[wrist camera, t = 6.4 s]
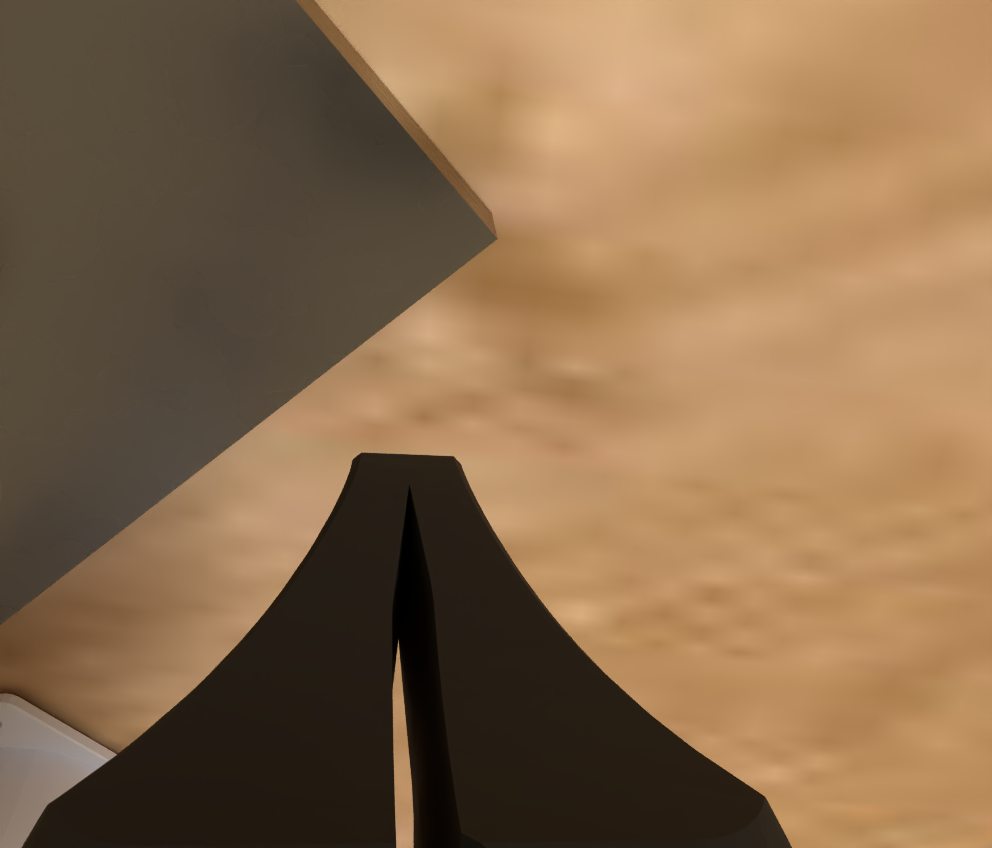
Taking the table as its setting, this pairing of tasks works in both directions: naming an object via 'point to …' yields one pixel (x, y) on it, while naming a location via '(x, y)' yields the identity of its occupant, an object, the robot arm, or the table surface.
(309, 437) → the table surface
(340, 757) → the robot arm
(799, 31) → the table surface
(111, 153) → the base plate
